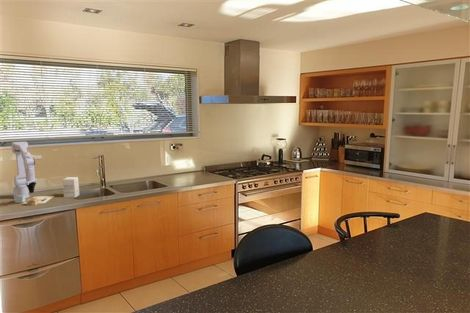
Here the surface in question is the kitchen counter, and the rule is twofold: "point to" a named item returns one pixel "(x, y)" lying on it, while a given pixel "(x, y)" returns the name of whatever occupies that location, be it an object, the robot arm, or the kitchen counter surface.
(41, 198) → the letter board
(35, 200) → the oak block
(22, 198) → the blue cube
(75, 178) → the supplement box
